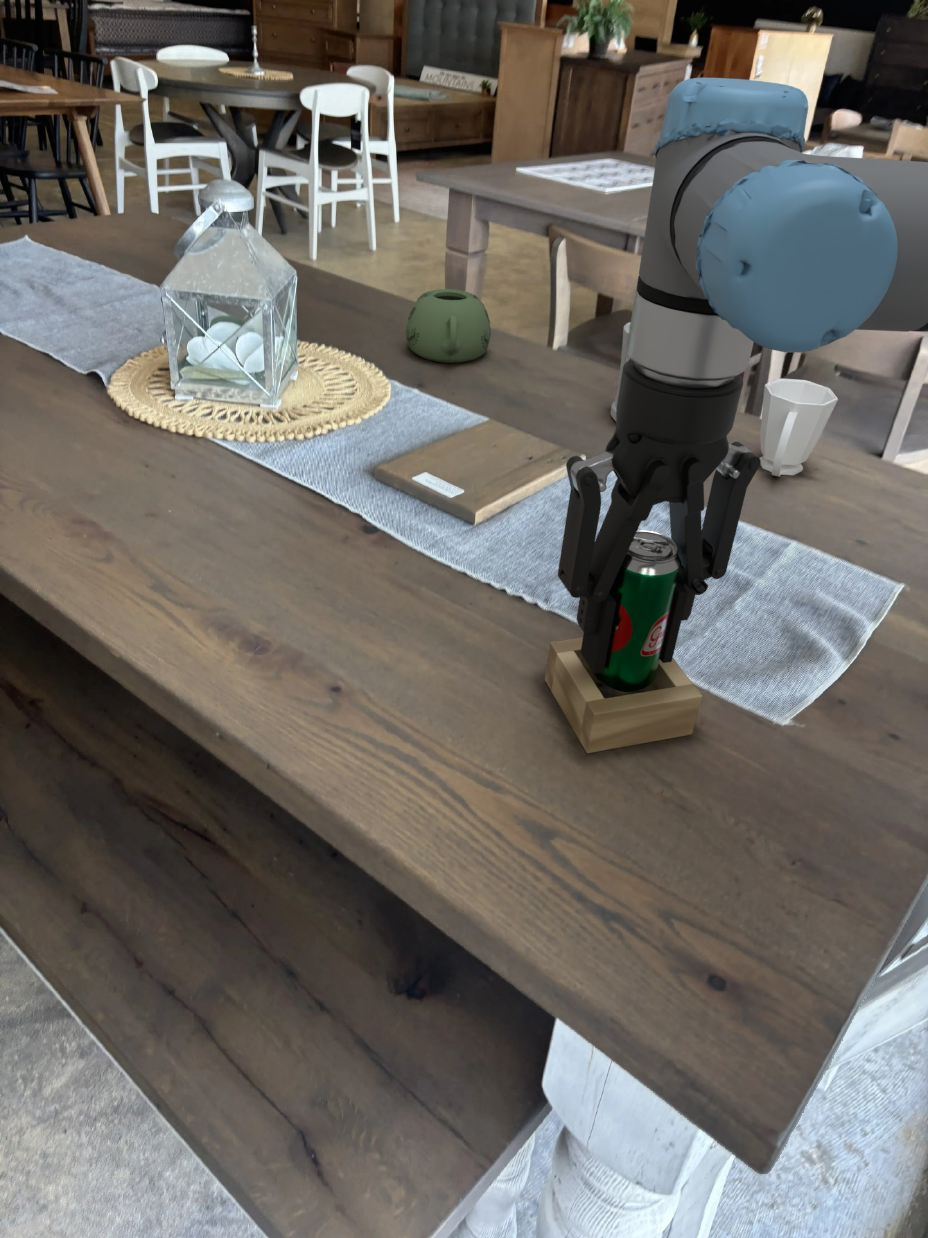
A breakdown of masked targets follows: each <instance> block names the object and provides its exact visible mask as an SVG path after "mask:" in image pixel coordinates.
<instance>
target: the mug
mask: <svg viewBox="0 0 928 1238" xmlns="http://www.w3.org/2000/svg"><path fill="white" fill-rule="evenodd" d="M491 330H492V329H491V322H490V317H489V314H488V310H487V309H486V307H485V304H484V303H483V301H481V299H480V298H479V297H478V296H477V295H476V294H474V293H471V292H468V291H465V290H461V289H456V288H441V289H440V288H439V289H434V290H428V291H426V292H424V293H422V294H421V295H420V296H419V297H418V298H417V299H416V301H415V303H414V305H413V306H412V308H411V311H410V312H409V315H408V318H407V323H406V329H405V335H406V340H407V346H408V348H410V351H412V352H413V353H415V354H416V355H417V356H418V357H421V358H422V359H424V360H428V361H431V362H435V363H445V364H457V363H466V362H471V361H474V360H476V359H478V358H479V357H482V356H483V355H484V354H485V353H487V351H488V348H489V343H490V340H491V336H492V331H491Z"/></svg>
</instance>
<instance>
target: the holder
mask: <svg viewBox="0 0 928 1238" xmlns="http://www.w3.org/2000/svg"><path fill="white" fill-rule="evenodd" d="M582 640H583V637H575V638H570V639H563V640H556V641H555V640H554V641H550V642H549V647H548V652H547V653H548V654H547V662H546V667H545V676H544V681H545V683H546V685H547V686H548V688H549V690H550V691H551V693H552V695H553V697H554V699H555V700H556V702H557V704H558V705H559V707H560V709H561V711H562V712H563V714H564V716H565V718H566V720H567V722H568V723H569V725H570V727H571V729H572V730H573V732H574V733H575V735H576V737H577V739H578V740H579V742H580V744H581V745H582V747H583V749H584V751H585V753H586V754H591V753H592V754H593V753H597V752H602V751H607V750H608V751H609V750H613V749H619V748H620V749H621V748H625V747H630V746H635V745H641V744H646V743H651V742H653V743H654V742H658V741H663V740H669V739H674V738H679V737H685V736H692V735H693V734H694V729H695V725H696V722H697V718H698V714H699V711H700V707H701V704H702V699H703V695H702V693H701V692H700V691H699V690H698V688H697V687H696V686H695V684H694V683H693V682H692V680H691V679H690V678H689V676H688V675H687V674H686V672H685V671H684V670H683V669H682V667H681V666H680V665H679V664H678V662H677V660H675V658H674V657H673V658H672V662H667V663H662V661H661V660H660V659H659V664H658V668H657V673H656V677H655V680H654V681H653V683H652V684H650V685H649V686H648V687H646V688H644V689H642V690H641V691H642V692H634V693H630V694H625V695H624V694H623V695H617V696H613V697H606V698H605V697H604V695H603V694H602V692H601V691H600V690H599V688H598V686H597V685H598V684H602V683H601V682H600V681H599V680H598V679H597V678H596V676H595V675H594V673H593V671H592V669H591V668H590V666H589V665H588V663H587V662H586V660H585V659H584V657H583V656H582V654H581V647H582Z"/></svg>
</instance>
